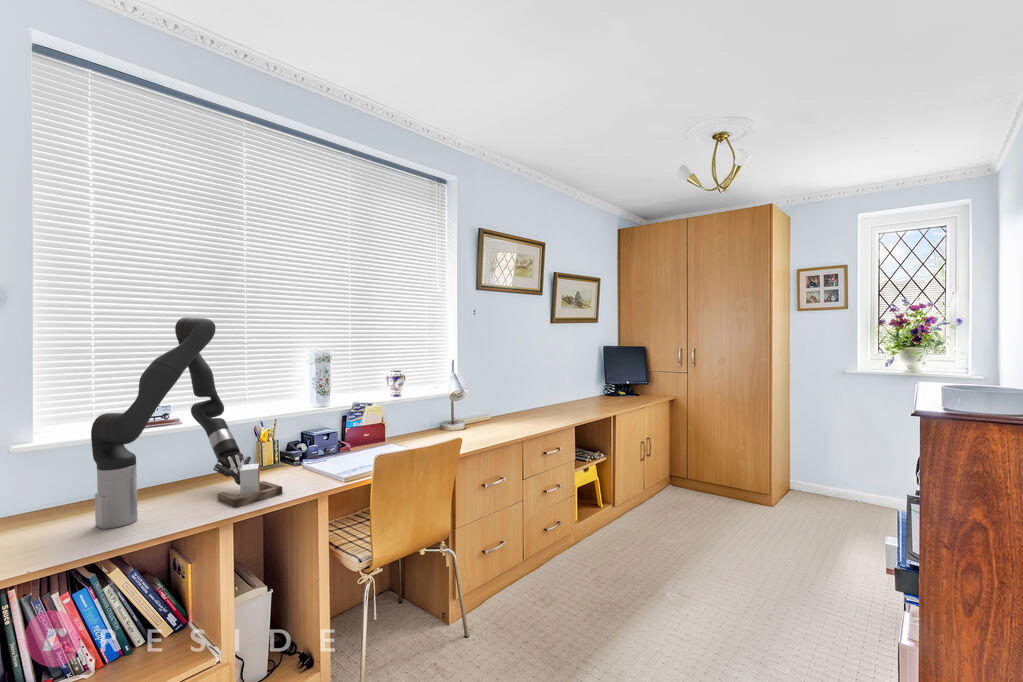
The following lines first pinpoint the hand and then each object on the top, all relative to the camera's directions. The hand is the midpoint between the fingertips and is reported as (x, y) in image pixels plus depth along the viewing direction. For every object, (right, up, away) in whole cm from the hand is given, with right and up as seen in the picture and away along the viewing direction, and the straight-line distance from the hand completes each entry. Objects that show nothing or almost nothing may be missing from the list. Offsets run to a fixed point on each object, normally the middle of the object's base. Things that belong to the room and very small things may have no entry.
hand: (241, 483), depth 171 cm
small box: (+5, -4, -3) cm, 7 cm away
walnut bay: (+4, -4, -3) cm, 7 cm away
